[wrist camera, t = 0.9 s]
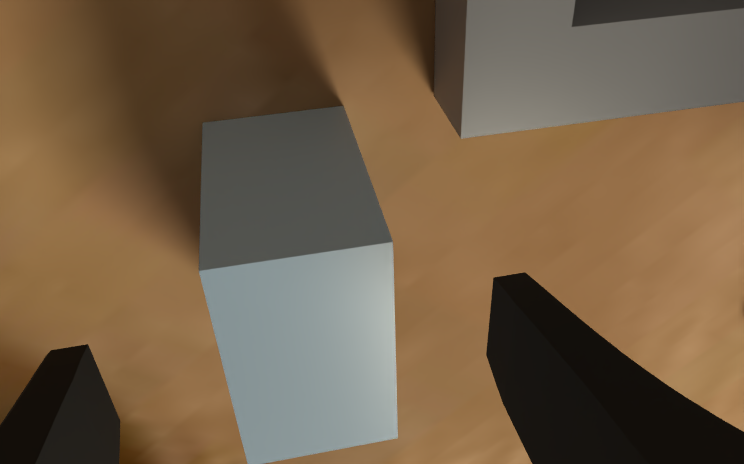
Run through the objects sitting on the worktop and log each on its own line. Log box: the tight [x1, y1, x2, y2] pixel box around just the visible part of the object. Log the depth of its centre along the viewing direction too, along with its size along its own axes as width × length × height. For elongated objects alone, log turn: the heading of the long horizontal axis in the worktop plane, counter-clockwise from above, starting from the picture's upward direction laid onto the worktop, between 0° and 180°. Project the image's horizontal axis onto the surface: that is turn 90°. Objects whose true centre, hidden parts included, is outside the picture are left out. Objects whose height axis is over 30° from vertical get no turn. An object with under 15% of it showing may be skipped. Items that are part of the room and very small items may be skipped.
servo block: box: [199, 106, 398, 464], centre depth 14 cm, size 3×5×5 cm, turn 2°
